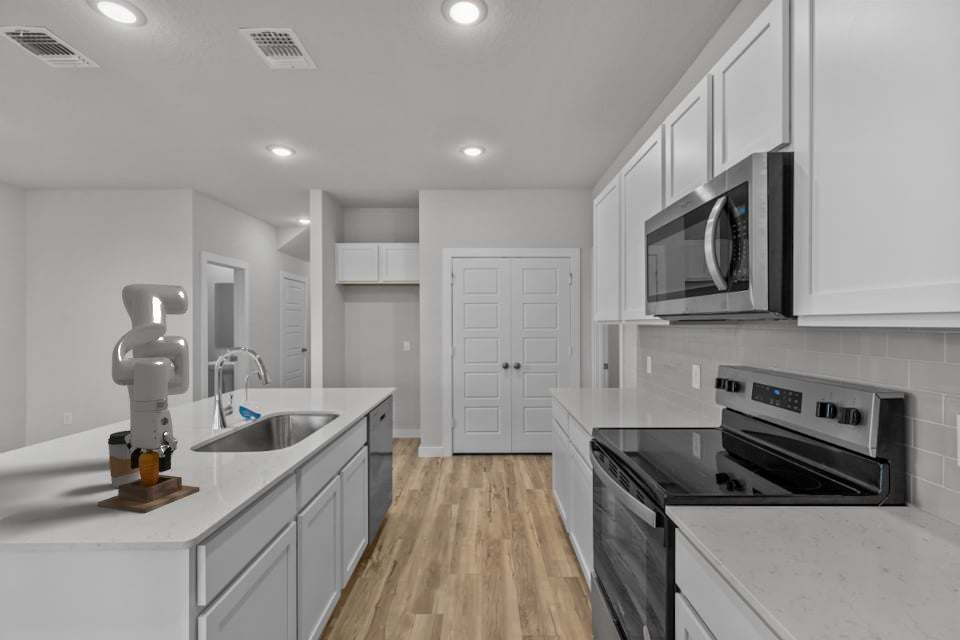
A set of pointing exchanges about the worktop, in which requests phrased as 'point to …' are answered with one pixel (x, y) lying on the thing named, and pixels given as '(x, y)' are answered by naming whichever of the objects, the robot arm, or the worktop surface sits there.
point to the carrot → (149, 467)
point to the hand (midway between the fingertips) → (150, 469)
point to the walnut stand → (148, 494)
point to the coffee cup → (121, 460)
